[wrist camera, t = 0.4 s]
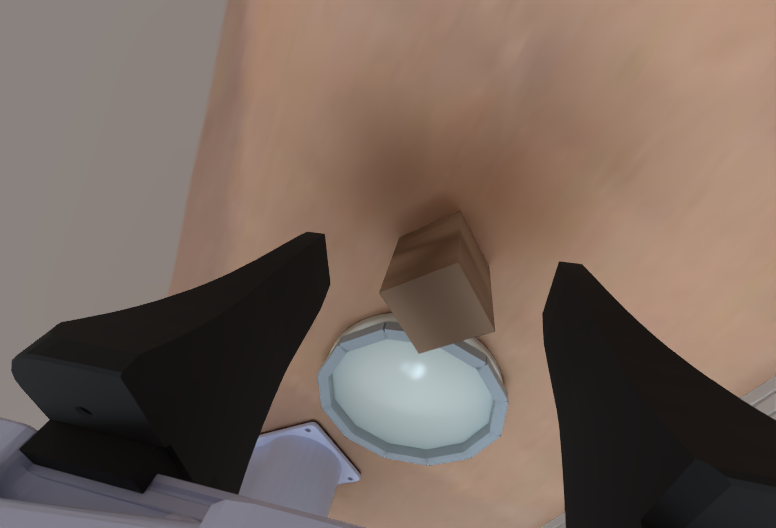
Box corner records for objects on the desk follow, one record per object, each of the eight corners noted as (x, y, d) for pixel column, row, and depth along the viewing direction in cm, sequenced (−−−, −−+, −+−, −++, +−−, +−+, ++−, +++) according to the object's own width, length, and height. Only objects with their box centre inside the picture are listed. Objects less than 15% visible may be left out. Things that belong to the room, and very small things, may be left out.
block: (429, 289, 24) (418, 353, 19) (399, 237, 23) (379, 292, 18) (489, 267, 23) (494, 331, 18) (460, 210, 21) (458, 262, 16)
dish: (381, 452, 33) (376, 474, 32) (295, 344, 29) (284, 362, 27) (530, 423, 28) (534, 447, 27) (455, 286, 24) (453, 304, 22)
